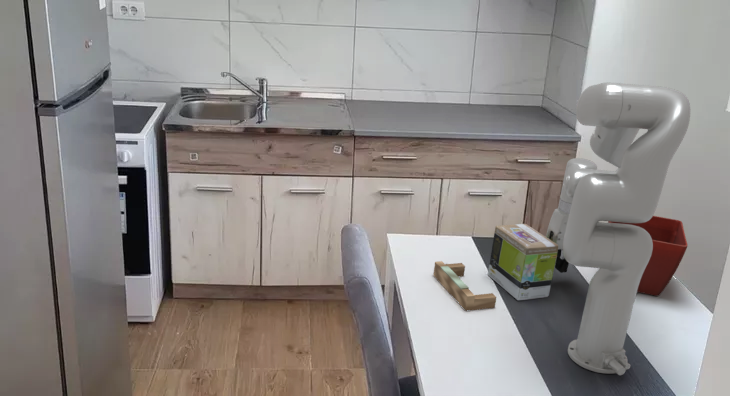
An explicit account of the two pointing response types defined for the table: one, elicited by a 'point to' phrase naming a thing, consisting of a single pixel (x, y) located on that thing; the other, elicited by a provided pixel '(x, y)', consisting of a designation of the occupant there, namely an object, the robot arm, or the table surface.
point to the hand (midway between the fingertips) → (560, 270)
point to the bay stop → (461, 287)
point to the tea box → (522, 261)
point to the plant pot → (662, 253)
